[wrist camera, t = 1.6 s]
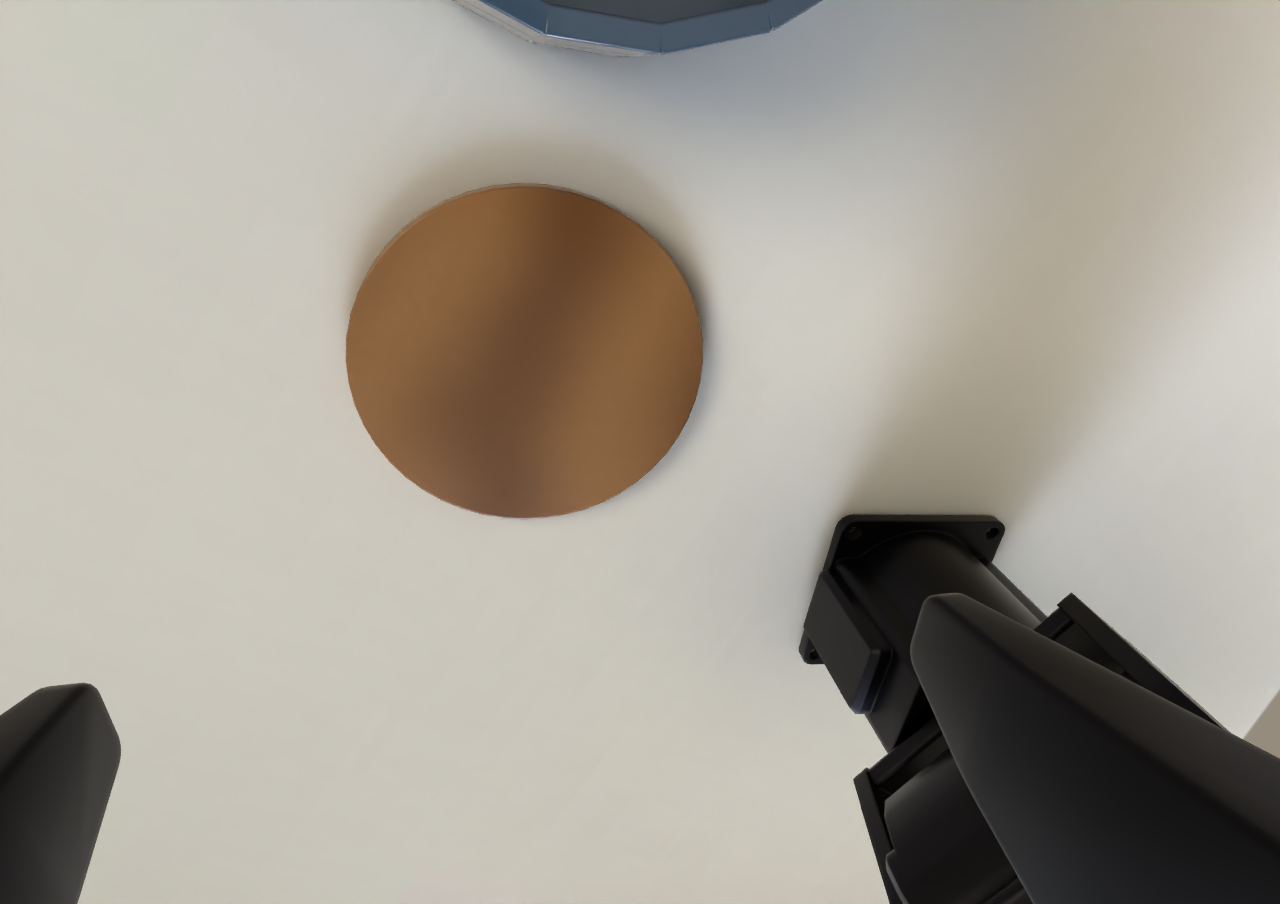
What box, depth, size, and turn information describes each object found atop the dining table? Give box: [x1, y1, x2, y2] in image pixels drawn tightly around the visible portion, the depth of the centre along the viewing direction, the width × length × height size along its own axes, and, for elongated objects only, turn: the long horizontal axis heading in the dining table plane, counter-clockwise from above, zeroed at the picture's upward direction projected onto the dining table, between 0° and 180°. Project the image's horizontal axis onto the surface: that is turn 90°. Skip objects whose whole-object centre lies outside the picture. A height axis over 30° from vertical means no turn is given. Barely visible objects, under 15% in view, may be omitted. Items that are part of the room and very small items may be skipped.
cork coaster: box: [346, 183, 703, 519], centre depth 20 cm, size 10×10×1 cm
